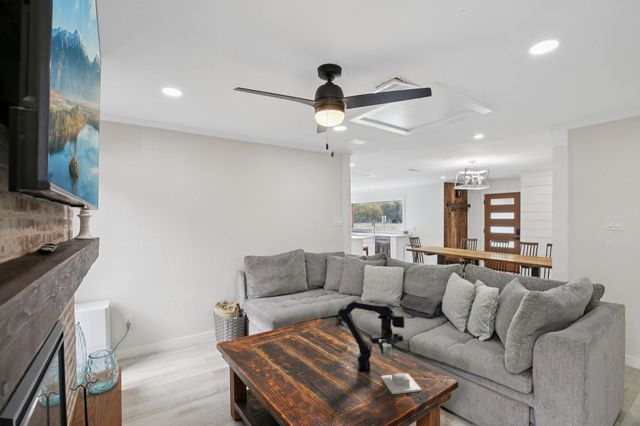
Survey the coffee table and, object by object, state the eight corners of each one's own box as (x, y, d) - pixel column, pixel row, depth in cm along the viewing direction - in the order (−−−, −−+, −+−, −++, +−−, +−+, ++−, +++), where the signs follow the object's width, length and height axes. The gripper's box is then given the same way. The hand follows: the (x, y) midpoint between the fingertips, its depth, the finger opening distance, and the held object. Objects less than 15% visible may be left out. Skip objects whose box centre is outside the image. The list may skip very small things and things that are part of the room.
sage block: (383, 357, 181) (383, 347, 181) (380, 353, 186) (380, 343, 186) (392, 356, 181) (392, 346, 181) (388, 352, 186) (388, 342, 186)
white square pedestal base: (392, 394, 162) (392, 386, 162) (381, 377, 178) (381, 370, 178) (421, 390, 165) (421, 383, 165) (407, 375, 181) (407, 368, 181)
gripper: (375, 332, 174) (375, 360, 174) (407, 330, 177) (407, 357, 177) (369, 325, 185) (369, 351, 185) (399, 323, 188) (399, 349, 188)
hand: (386, 352), depth 184 cm, fingers closed on sage block, 5 cm apart
